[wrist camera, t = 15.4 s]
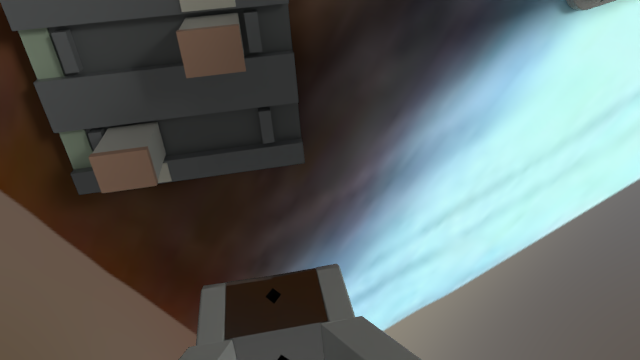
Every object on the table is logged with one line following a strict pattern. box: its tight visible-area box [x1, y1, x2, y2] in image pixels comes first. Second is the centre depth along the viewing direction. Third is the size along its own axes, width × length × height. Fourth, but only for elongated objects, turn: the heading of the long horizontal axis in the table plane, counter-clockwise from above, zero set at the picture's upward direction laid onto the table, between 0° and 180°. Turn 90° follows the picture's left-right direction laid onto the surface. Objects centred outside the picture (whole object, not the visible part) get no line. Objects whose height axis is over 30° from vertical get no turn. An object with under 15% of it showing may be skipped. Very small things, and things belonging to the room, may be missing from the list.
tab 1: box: [88, 122, 166, 193], centre depth 36 cm, size 4×3×6 cm
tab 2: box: [176, 13, 246, 78], centre depth 32 cm, size 4×3×6 cm
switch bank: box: [0, 0, 305, 195], centre depth 37 cm, size 20×16×3 cm
